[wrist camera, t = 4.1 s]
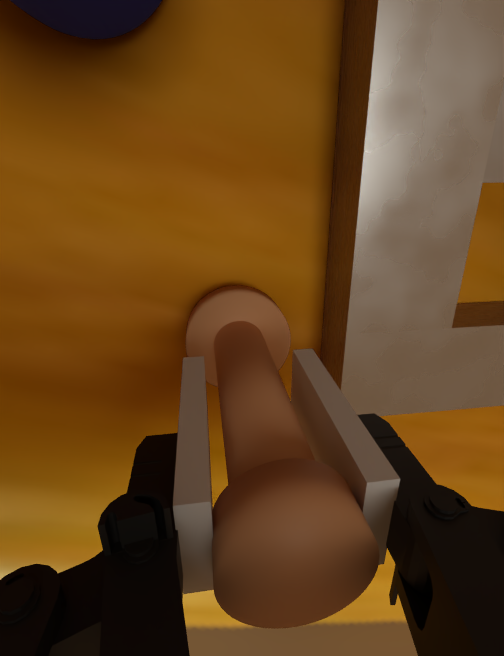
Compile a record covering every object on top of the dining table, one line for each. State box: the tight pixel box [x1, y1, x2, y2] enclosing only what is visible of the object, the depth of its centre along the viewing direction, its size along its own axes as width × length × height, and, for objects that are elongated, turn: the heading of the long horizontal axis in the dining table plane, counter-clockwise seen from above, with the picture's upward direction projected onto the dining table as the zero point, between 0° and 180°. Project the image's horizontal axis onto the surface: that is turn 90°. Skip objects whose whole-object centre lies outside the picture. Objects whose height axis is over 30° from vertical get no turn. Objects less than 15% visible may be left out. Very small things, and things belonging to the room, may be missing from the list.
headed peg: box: [186, 285, 380, 628], centre depth 13 cm, size 5×5×12 cm
